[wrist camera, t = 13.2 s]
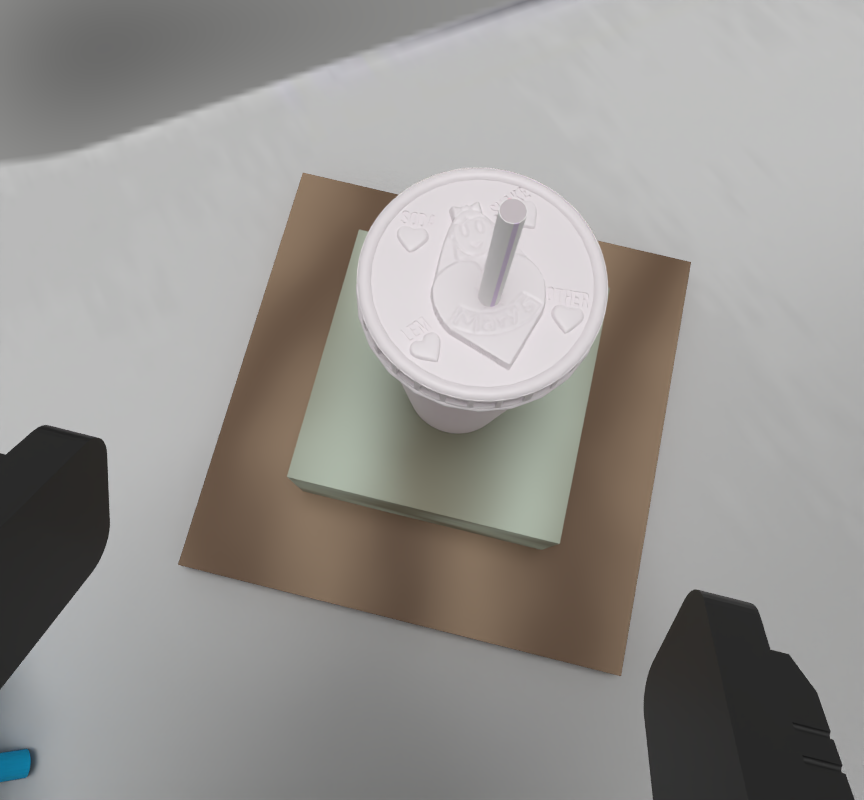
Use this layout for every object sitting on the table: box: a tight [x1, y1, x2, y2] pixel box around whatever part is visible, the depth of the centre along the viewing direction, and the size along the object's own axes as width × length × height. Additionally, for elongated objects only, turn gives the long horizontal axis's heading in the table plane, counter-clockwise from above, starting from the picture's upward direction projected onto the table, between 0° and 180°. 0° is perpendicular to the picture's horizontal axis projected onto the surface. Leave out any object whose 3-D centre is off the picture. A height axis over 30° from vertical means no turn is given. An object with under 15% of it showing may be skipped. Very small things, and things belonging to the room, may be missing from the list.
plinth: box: [178, 173, 691, 676], centre depth 31 cm, size 18×18×5 cm
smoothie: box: [356, 168, 608, 434], centre depth 21 cm, size 6×6×14 cm
